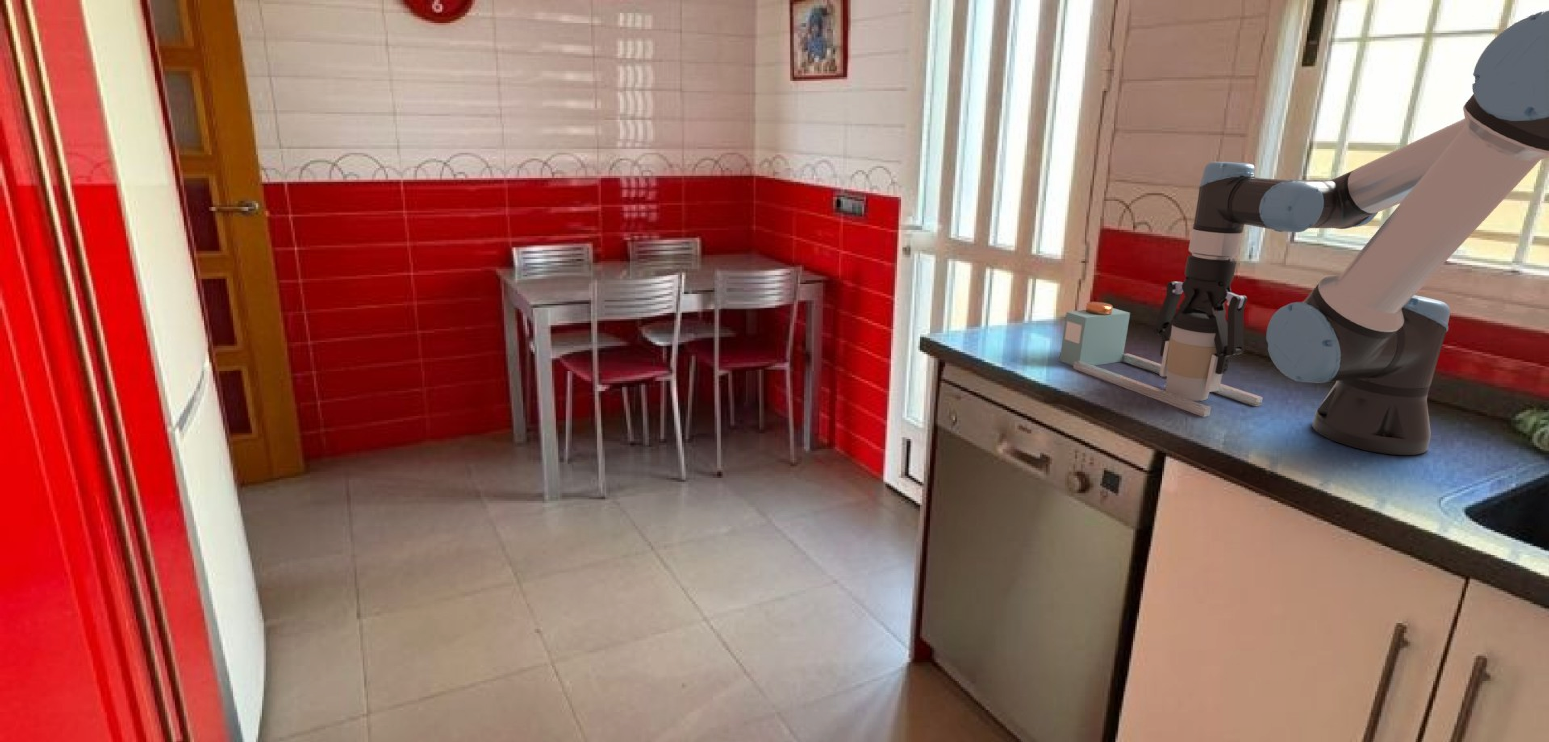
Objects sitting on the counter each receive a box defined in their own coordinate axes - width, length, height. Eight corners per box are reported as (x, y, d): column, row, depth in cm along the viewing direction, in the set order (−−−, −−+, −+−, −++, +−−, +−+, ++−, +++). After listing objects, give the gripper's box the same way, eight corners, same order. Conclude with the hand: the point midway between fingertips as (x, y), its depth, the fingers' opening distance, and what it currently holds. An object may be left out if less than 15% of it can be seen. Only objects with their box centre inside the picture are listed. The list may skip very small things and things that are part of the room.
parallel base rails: (1260, 405, 145) (1262, 397, 145) (1203, 417, 139) (1205, 408, 138) (1127, 360, 169) (1128, 353, 169) (1073, 368, 163) (1074, 361, 162)
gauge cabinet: (1122, 361, 169) (1130, 312, 166) (1077, 367, 163) (1085, 317, 160) (1102, 354, 173) (1110, 307, 170) (1058, 360, 168) (1065, 312, 165)
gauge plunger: (1113, 338, 166) (1118, 306, 164) (1095, 340, 164) (1100, 308, 162) (1094, 332, 170) (1098, 301, 168) (1076, 334, 168) (1081, 303, 166)
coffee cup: (1221, 405, 145) (1238, 320, 140) (1165, 400, 146) (1181, 316, 142) (1205, 388, 153) (1221, 308, 149) (1153, 384, 155) (1167, 305, 150)
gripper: (1287, 265, 135) (1258, 398, 142) (1173, 245, 153) (1152, 364, 160) (1257, 268, 132) (1229, 404, 138) (1144, 247, 150) (1124, 368, 156)
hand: (1188, 382), depth 149 cm, fingers closed on coffee cup, 9 cm apart
